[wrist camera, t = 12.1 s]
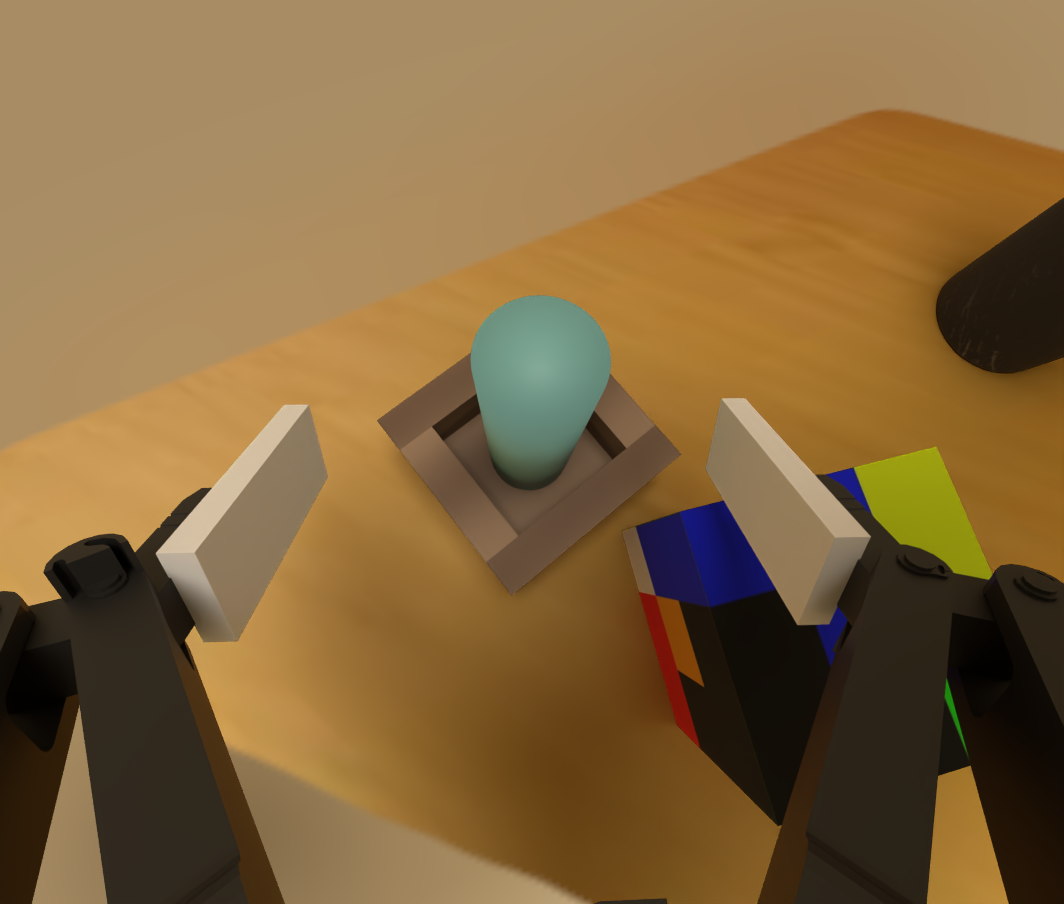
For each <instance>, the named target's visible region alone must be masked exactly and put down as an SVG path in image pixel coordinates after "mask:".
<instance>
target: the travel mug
mask: <svg viewBox="0 0 1064 904" xmlns="http://www.w3.org/2000/svg"><path fill="white" fill-rule="evenodd" d="M937 319H938V323H939V326H940V329H941V331H942V333H943V335H944V337H945V339H946V340H947V342H948V343H949V344H950V346H951V347H952V348H953V349H954V350H955V351H956V352H957V353H958V354H959V355H960V356H961V357H963V358H964V359H965V360H967V361H968V362H970V363H972V364H973V365H975V366H977V367H980V368H982V369H985V370H988V371H993V372H998V373H1012V372H1019V371H1023V370H1026V369H1030V368H1033V367H1036V366H1039V365H1042V364H1045V363H1048V362H1051V361H1053V360H1056V359H1059V358H1062V357H1064V198H1063V199H1061V200H1060V201H1058V202H1057V203H1055V204H1054V205H1053V206H1051V207H1050V208H1048V209H1047V210H1046V211H1044V212H1043V213H1041V214H1040V215H1038V216H1037V217H1036V218H1034V219H1033V220H1031V221H1030V222H1029V223H1027V224H1026V225H1024V226H1023V227H1022V228H1020V229H1019V230H1017V231H1016V232H1014V233H1013V234H1012V235H1010V236H1009V237H1007V238H1006V239H1005V240H1003V241H1002V242H1000V243H999V244H997V245H996V246H995V247H993V248H992V249H990V250H989V251H988V252H986V253H985V254H983V255H982V256H981V257H979V258H978V259H976V260H975V261H973V262H972V263H971V264H969V265H968V266H967V267H965V268H964V269H962V270H961V271H960V272H958V273H957V274H956V275H954V276H953V277H952V278H951V279H950V280H949V281H948V282H947V283H946V284H945V286H944V287H943V288H942V290H941V292H940V294H939V297H938V301H937Z"/></svg>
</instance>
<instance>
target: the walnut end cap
mask: <svg viewBox="0 0 1064 904" xmlns="http://www.w3.org/2000/svg"><path fill="white" fill-rule="evenodd" d="M377 421H378V423H379V424H380V425H381V426H382V428H383V429H384V430H385V432H386V433H387V434H388V436H389V437H390V438H391V440H392V441H393V442H394V443H395V445H396V446H397V447H398V449H399V450H400V451H401V453H402V454H403V455H404V456H405V458H406V459H407V460H408V462H409V463H410V464H411V466H412V467H413V468H414V469H415V471H416V472H417V473H418V475H419V476H420V477H421V479H422V480H423V481H424V482H425V484H426V485H427V486H428V488H429V489H430V490H431V492H432V493H433V494H434V495H435V497H436V498H437V499H438V501H439V502H440V503H441V505H442V506H443V507H444V509H445V510H446V511H447V512H448V514H449V515H450V516H451V518H452V519H453V520H454V522H455V523H456V524H457V525H458V527H459V528H460V529H461V531H462V532H463V533H464V535H465V536H466V537H467V538H468V540H469V541H470V542H471V544H472V545H473V546H474V548H475V549H476V550H477V551H478V553H479V554H480V555H481V557H482V558H483V559H484V561H485V562H486V563H487V564H488V566H489V567H490V568H491V570H492V571H493V572H494V574H495V575H496V576H497V577H498V579H499V580H500V581H501V583H502V584H503V585H504V587H505V588H506V589H507V591H508V592H509V593H510V594H511V596H512V595H513V594H514V593H515V592H517V591H518V590H519V589H520V588H521V587H523V586H524V585H525V584H526V583H527V582H529V581H530V580H531V579H532V578H533V577H535V576H536V575H537V574H538V573H539V572H541V571H542V570H543V569H544V568H545V567H547V566H548V565H549V564H550V563H551V562H553V561H554V560H555V559H556V558H557V557H559V556H560V555H561V554H562V553H563V552H565V551H566V550H567V549H568V548H569V547H571V546H572V545H573V544H574V543H575V542H577V541H578V540H579V539H580V538H581V537H583V536H584V535H585V534H586V533H587V532H589V531H590V530H591V529H592V528H593V527H595V526H596V525H597V524H598V523H599V522H601V521H602V520H603V519H604V518H605V517H607V516H608V515H609V514H610V513H611V512H613V511H614V510H615V509H616V508H618V507H619V506H620V505H621V504H622V503H624V502H625V501H626V500H627V499H628V498H630V497H631V496H632V495H633V494H634V493H636V492H637V491H638V490H639V489H640V488H642V487H643V486H644V485H645V484H646V483H648V482H649V481H650V480H651V479H652V478H654V477H655V476H656V475H657V474H658V473H660V472H661V471H662V470H663V469H664V468H666V467H667V466H668V465H669V464H670V463H672V462H673V461H674V460H675V459H676V458H678V457H679V456H680V455H681V454H680V452H679V451H678V450H677V449H676V448H675V447H674V446H673V444H672V443H671V442H670V441H669V440H668V439H667V438H666V437H665V435H664V434H663V433H662V432H661V431H660V430H659V429H658V427H657V426H656V425H655V424H654V423H653V422H652V421H651V419H650V418H649V417H648V416H647V415H646V414H645V413H644V412H643V410H642V409H641V408H640V407H639V406H638V405H637V404H636V402H635V401H634V400H633V399H632V398H631V397H630V396H629V395H628V393H627V392H626V391H625V390H624V389H623V388H622V387H621V385H620V384H619V383H618V382H617V381H616V380H615V379H614V378H613V376H612V375H611V374H610V376H609V379H608V382H607V385H606V387H605V389H604V392H603V394H602V396H601V398H600V399H599V401H598V403H597V405H596V407H595V409H594V411H593V413H592V415H591V417H590V419H589V421H588V423H587V425H586V427H585V429H584V431H583V433H582V434H581V436H580V438H579V440H578V442H577V444H576V446H575V448H574V450H573V452H572V454H571V456H570V458H569V460H568V462H567V464H566V466H565V468H564V470H563V471H562V473H561V474H560V476H559V477H558V478H557V479H556V480H555V481H554V482H553V483H551V484H550V485H548V486H546V487H544V488H541V489H537V490H522V489H518V488H515V487H513V486H510V485H509V484H507V483H506V482H505V481H503V480H502V479H501V478H500V477H499V475H498V474H497V473H496V471H495V469H494V467H493V464H492V461H491V456H490V452H489V447H488V442H487V438H486V433H485V429H484V424H483V420H482V415H481V411H480V406H479V402H478V397H477V393H476V388H475V384H474V379H473V375H472V370H471V353H470V354H468V355H467V356H466V357H464V358H463V359H461V360H460V361H459V362H457V363H456V364H455V365H453V366H452V367H450V368H449V369H448V370H446V371H445V372H443V373H442V374H441V375H439V376H438V377H436V378H435V379H434V380H432V381H431V382H429V383H428V384H427V385H425V386H424V387H423V388H421V389H420V390H418V391H417V392H416V393H414V394H413V395H411V396H410V397H409V398H407V399H406V400H404V401H403V402H402V403H400V404H399V405H398V406H396V407H395V408H393V409H392V410H391V411H389V412H388V413H386V414H385V415H384V416H382V417H381V418H379V419H378V420H377Z"/></svg>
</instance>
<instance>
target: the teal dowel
mask: <svg viewBox="0 0 1064 904" xmlns="http://www.w3.org/2000/svg"><path fill="white" fill-rule="evenodd" d="M610 369H611V356H610V349H609V346H608V342H607V340H606V337H605V335H604V333H603V331H602V330H601V328H600V326H599V325H598V324H597V322H596V321H595V320H594V319H593V318H592V317H591V316H590V315H589V314H588V313H587V312H586V311H584V310H583V309H582V308H580V307H578V306H577V305H575V304H573V303H571V302H569V301H566V300H564V299H560V298H557V297H551V296H540V295H538V296H528V297H522V298H519V299H516V300H513V301H510V302H508V303H506V304H504V305H503V306H501V307H499V308H498V309H496V310H495V311H494V312H493V313H492V314H490V316H489V317H488V318H487V319H486V320H485V321H484V322H483V324H482V325H481V326H480V328H479V330H478V332H477V334H476V336H475V339H474V341H473V345H472V350H471V370H472V375H473V379H474V384H475V388H476V393H477V397H478V402H479V406H480V411H481V415H482V420H483V424H484V429H485V433H486V438H487V442H488V447H489V452H490V456H491V461H492V464H493V467H494V469H495V471H496V473H497V474H498V475H499V477H500V478H501V479H502V480H503V481H505V482H506V483H507V484H509V485H510V486H513V487H515V488H518V489H522V490H537V489H541V488H544V487H546V486H548V485H550V484H551V483H553V482H554V481H555V480H556V479H557V478H558V477H559V476H560V474H561V473H562V471H563V470H564V468H565V466H566V464H567V462H568V460H569V458H570V456H571V454H572V452H573V450H574V448H575V446H576V444H577V442H578V440H579V438H580V436H581V434H582V433H583V431H584V429H585V427H586V425H587V423H588V421H589V419H590V417H591V415H592V413H593V411H594V409H595V407H596V405H597V403H598V401H599V399H600V398H601V396H602V394H603V392H604V389H605V387H606V385H607V382H608V379H609V376H610Z"/></svg>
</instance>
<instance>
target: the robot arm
mask: <svg viewBox="0 0 1064 904" xmlns="http://www.w3.org/2000/svg"><path fill="white" fill-rule="evenodd" d="M705 470H706V471H707V473H708V475H709V476H710V478H711V480H712V481H713V483H714V485H715V486H716V488H717V490H718V491H719V493H720V495H721V497H722V498H723V500H724V502H725V503H726V505H727V507H728V508H729V510H730V512H731V513H732V515H733V517H734V519H735V520H736V522H737V524H738V525H739V527H740V529H741V530H742V532H743V534H744V535H745V537H746V539H747V541H748V542H749V544H750V546H751V547H752V549H753V551H754V552H755V554H756V556H757V557H758V559H759V561H760V562H761V564H762V566H763V568H764V569H765V571H766V573H767V574H768V576H769V578H770V579H771V581H772V583H773V584H774V586H775V588H776V590H777V591H778V593H779V595H780V596H781V598H782V600H783V601H784V603H785V605H786V606H787V608H788V610H789V611H790V613H791V615H792V617H793V618H794V620H795V622H796V623H797V625H820V624H829V623H830V621H831V619H832V617H833V615H834V613H835V611H836V609H837V607H839V609H840V610H841V612H842V613H843V614H844V616H845V617H846V619H847V622H846V624H845V626H844V628H843V630H842V632H841V634H840V636H839V638H838V640H837V642H836V644H835V646H834V648H833V650H832V651H833V652H835V655H834V659H833V662H832V665H831V668H830V672H829V675H828V678H827V681H826V684H825V688H824V691H823V694H822V697H821V701H820V704H819V707H818V710H817V713H816V717H815V720H814V723H813V726H812V730H811V733H810V736H809V739H808V742H807V746H806V749H805V752H804V755H803V759H802V762H801V765H800V768H799V771H798V775H797V778H796V781H795V784H794V788H793V791H792V794H791V797H790V800H789V804H788V807H787V810H786V813H785V817H784V820H783V823H782V826H781V829H780V833H779V836H778V839H777V842H776V846H775V849H774V852H773V855H772V858H771V862H770V865H769V868H768V871H767V875H766V878H765V881H764V884H763V887H762V891H761V894H760V897H759V900H758V903H757V904H927V893H928V882H929V871H930V859H931V848H932V837H933V825H934V814H935V803H936V791H937V780H938V769H939V757H940V746H941V735H942V723H943V712H944V701H945V689H946V678H947V681H948V685H949V688H950V692H951V695H952V699H953V703H954V706H955V710H956V714H957V717H958V721H959V725H960V728H961V732H962V735H963V739H964V743H965V746H966V750H967V754H968V757H969V761H970V764H971V768H972V772H973V775H974V779H975V783H976V786H977V790H978V793H979V797H980V801H981V804H982V808H983V812H984V815H985V819H986V823H987V826H988V830H989V833H990V837H991V841H992V844H993V848H994V852H995V855H996V859H997V862H998V866H999V870H1000V873H1001V877H1002V881H1003V884H1004V888H1005V891H1006V895H1007V899H1008V902H1009V904H1064V584H1063V583H1062V582H1060V581H1059V580H1057V579H1056V578H1054V577H1053V576H1051V575H1048V574H1047V573H1044V572H1042V571H1040V570H1036V569H1033V568H1029V567H1026V566H1021V565H1014V564H1008V565H1001V566H1000V567H998V568H997V569H996V570H995V572H994V573H993V575H992V576H991V577H990V579H989V580H988V579H983V578H978V577H973V576H967V575H962V574H957V573H953V571H952V570H951V568H950V567H949V566H948V565H947V564H946V563H945V562H944V561H943V560H941V559H940V558H938V557H937V556H935V555H934V554H932V553H930V552H927V551H925V550H923V549H921V548H918V547H914V546H910V545H904V544H900V543H899V542H898V541H897V540H896V539H895V538H894V537H893V536H892V535H891V534H890V533H889V532H888V531H887V530H886V529H885V528H884V527H883V526H882V525H881V524H880V523H879V522H878V521H877V520H876V519H875V518H874V517H873V515H872V514H871V513H870V512H869V511H866V510H865V509H866V508H865V507H864V506H863V505H862V504H861V503H860V502H859V501H856V498H855V497H854V496H853V495H852V494H851V493H850V492H849V491H848V490H847V489H846V488H845V487H844V485H842V484H840V483H839V482H837V481H835V480H834V479H832V478H830V477H829V476H827V475H814V474H813V473H812V471H811V470H810V469H809V468H808V467H807V466H806V465H805V464H804V463H803V462H802V460H801V459H800V458H799V457H798V456H797V455H796V454H795V453H794V452H793V451H792V449H791V448H790V447H789V446H788V445H787V444H786V443H785V442H784V441H783V440H782V438H781V437H780V436H779V435H778V434H777V433H776V432H775V431H774V430H773V429H772V427H771V426H770V425H769V424H768V423H767V422H766V421H765V420H764V419H763V418H762V416H761V415H760V414H759V413H758V412H757V411H756V410H755V409H754V408H753V407H752V405H751V404H750V403H749V402H748V401H747V400H746V399H745V398H721V402H720V407H719V411H718V416H717V420H716V425H715V429H714V433H713V438H712V442H711V447H710V451H709V456H708V460H707V465H706V469H705ZM327 477H328V475H327V471H326V468H325V464H324V460H323V456H322V452H321V449H320V445H319V441H318V437H317V433H316V430H315V426H314V422H313V418H312V415H311V411H310V407H309V405H284V406H283V407H282V408H281V409H280V410H279V411H278V413H277V414H276V415H275V416H274V417H273V418H272V420H271V421H270V422H269V423H268V424H267V425H266V426H265V428H264V429H263V430H262V431H261V432H260V433H259V435H258V436H257V437H256V438H255V439H254V440H253V442H252V443H251V444H250V445H249V446H248V447H247V448H246V450H245V451H244V452H243V453H242V454H241V455H240V457H239V458H238V459H237V460H236V461H235V462H234V463H233V465H232V466H231V467H230V468H229V469H228V470H227V472H226V473H225V474H224V475H223V476H222V477H221V478H220V480H219V481H218V482H217V483H216V484H215V485H214V487H213V488H201V489H200V490H198V491H197V492H195V493H194V494H192V495H190V496H189V497H187V498H186V499H184V500H183V501H182V502H181V503H180V504H179V505H178V506H177V507H176V508H175V510H174V511H173V512H172V513H171V516H168V517H167V518H166V519H165V520H164V522H163V523H162V524H161V527H160V528H157V529H156V530H155V531H154V532H153V534H152V535H151V536H150V537H149V538H148V539H147V540H146V541H145V542H144V543H143V544H142V546H141V547H140V548H139V549H138V550H137V551H136V552H134V551H133V549H132V547H131V545H130V544H129V542H128V540H127V539H126V538H125V537H124V536H122V535H117V534H103V535H97V536H93V537H90V538H86V539H83V540H81V541H79V542H76V543H74V544H72V545H70V546H68V547H66V548H65V549H63V550H62V551H60V552H59V553H57V554H56V555H54V556H53V558H52V559H51V560H50V561H49V562H48V563H47V564H46V566H45V569H44V574H45V576H46V577H47V578H48V580H49V581H50V583H51V584H52V585H53V587H54V588H55V589H56V591H57V592H58V594H59V595H60V596H61V599H57V600H53V601H48V602H44V603H40V604H36V605H32V606H28V605H27V604H26V603H25V602H24V600H23V599H22V598H21V597H20V596H19V595H18V594H17V593H15V592H8V591H1V592H0V904H32V900H33V896H34V892H35V888H36V883H37V879H38V875H39V871H40V867H41V863H42V859H43V854H44V850H45V846H46V842H47V838H48V834H49V829H50V825H51V821H52V817H53V813H54V809H55V804H56V800H57V796H58V792H59V788H60V784H61V779H62V775H63V771H64V766H65V762H66V758H67V754H68V750H69V745H70V742H71V738H72V733H73V729H74V725H75V720H76V717H77V713H78V708H79V704H80V711H81V718H82V725H83V732H84V740H85V746H86V753H87V760H88V768H89V775H90V782H91V789H92V797H93V804H94V811H95V817H96V824H97V832H98V838H99V846H100V853H101V860H102V867H103V875H104V882H105V889H106V896H107V903H108V904H285V903H284V900H283V897H282V895H281V892H280V889H279V887H278V884H277V881H276V879H275V876H274V873H273V871H272V868H271V865H270V863H269V860H268V857H267V855H266V852H265V849H264V846H263V844H262V841H261V838H260V836H259V833H258V830H257V828H256V825H255V823H254V820H253V817H252V814H251V812H250V809H249V807H248V804H247V801H246V799H245V796H244V793H243V790H242V788H241V785H240V782H239V780H238V777H237V774H236V772H235V769H234V766H233V763H232V761H231V758H230V755H229V753H228V750H227V747H226V745H225V742H224V739H223V737H222V734H221V731H220V729H219V726H218V723H217V721H216V718H215V715H214V713H213V710H212V707H211V705H210V702H209V699H208V697H207V694H206V691H205V688H204V686H203V683H202V680H201V678H200V675H199V672H198V670H197V667H196V664H195V662H194V659H193V656H192V654H191V651H190V649H189V647H188V645H187V643H186V642H185V639H186V637H187V636H188V634H189V633H190V631H191V630H192V628H193V627H194V625H195V627H196V629H197V631H198V633H199V635H200V636H201V638H202V640H203V642H227V641H238V639H239V638H240V636H241V634H242V632H243V630H244V628H245V627H246V625H247V623H248V621H249V619H250V618H251V616H252V614H253V612H254V610H255V608H256V607H257V605H258V603H259V601H260V599H261V598H262V596H263V594H264V592H265V590H266V588H267V587H268V585H269V583H270V581H271V579H272V578H273V576H274V574H275V572H276V570H277V568H278V567H279V565H280V563H281V561H282V559H283V557H284V556H285V554H286V552H287V550H288V548H289V547H290V545H291V543H292V541H293V539H294V537H295V536H296V534H297V532H298V530H299V528H300V527H301V525H302V523H303V521H304V519H305V517H306V516H307V514H308V512H309V510H310V508H311V507H312V505H313V503H314V501H315V499H316V497H317V496H318V494H319V492H320V490H321V488H322V486H323V485H324V483H325V481H326V479H327ZM595 904H667V899H645V900H622V901H600V902H597V903H595Z"/></svg>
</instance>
